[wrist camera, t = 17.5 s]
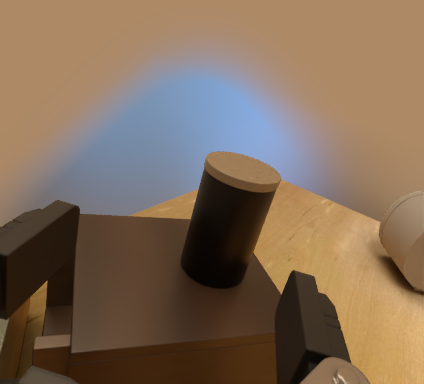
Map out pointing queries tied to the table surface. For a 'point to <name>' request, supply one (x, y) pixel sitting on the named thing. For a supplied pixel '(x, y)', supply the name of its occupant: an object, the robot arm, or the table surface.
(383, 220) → the alarm clock
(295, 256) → the table surface
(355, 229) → the table surface
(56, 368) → the drawer
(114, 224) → the cabinet
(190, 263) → the tin
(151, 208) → the table surface
